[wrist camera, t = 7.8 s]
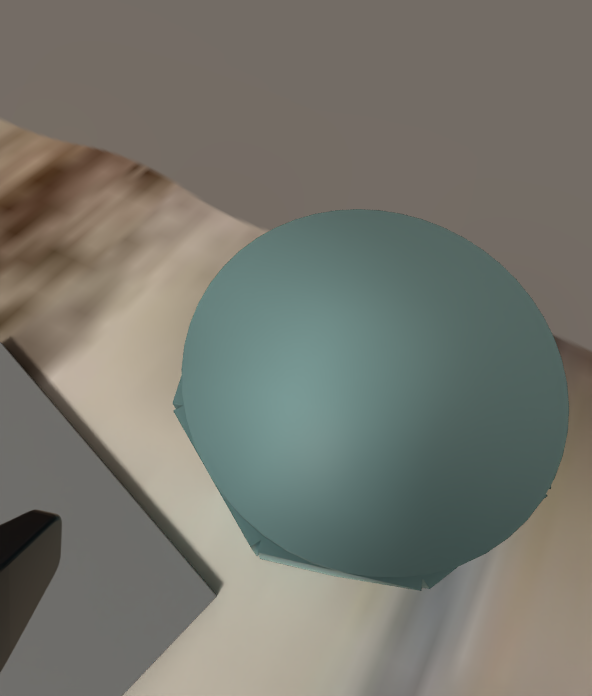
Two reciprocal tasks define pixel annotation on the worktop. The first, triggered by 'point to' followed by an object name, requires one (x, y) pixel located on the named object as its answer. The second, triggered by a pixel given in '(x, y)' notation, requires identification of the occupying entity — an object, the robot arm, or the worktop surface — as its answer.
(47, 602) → the mat
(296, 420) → the teal domed post
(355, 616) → the worktop surface
